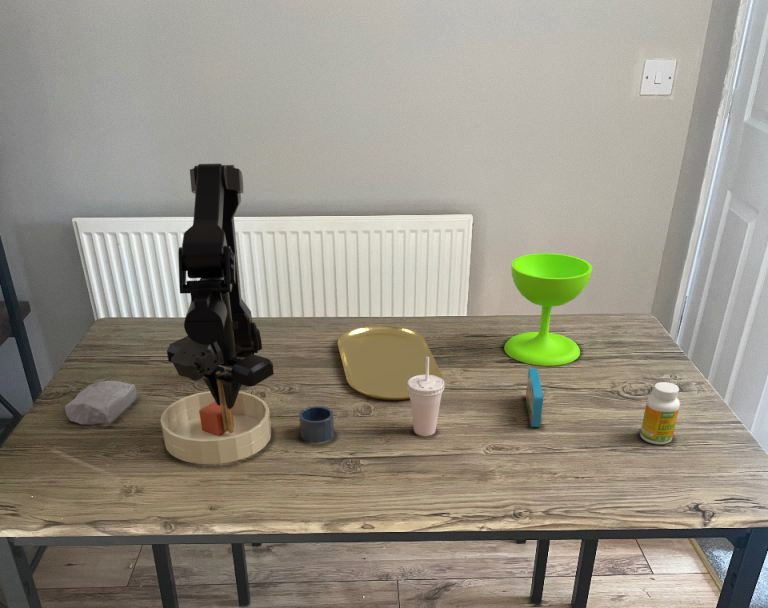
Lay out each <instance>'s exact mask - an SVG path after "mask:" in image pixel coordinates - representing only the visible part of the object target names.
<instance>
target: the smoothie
mask: <svg viewBox="0 0 768 608" xmlns="http://www.w3.org/2000/svg"><path fill="white" fill-rule="evenodd" d="M407 389H408V390H409V392H410V399H409V400H410V409H411V417H412V425H413V432H414V433H415V434H416V435H418V436H421V437H422V436H423V437H428V436H432V435H434V434H435V433H436V430H437V424H438V417H439V412H440V407H441V401H442V396H443V392H444V390H445V381H444V379H442V378H439V377H437V376H433V375H429V357H426V373H425V375H417V376H414V377H412V378H410V379H409V380H408V386H407Z"/></svg>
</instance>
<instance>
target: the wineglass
mask: <svg viewBox="0 0 768 608" xmlns="http://www.w3.org/2000/svg"><path fill="white" fill-rule="evenodd" d="M592 273H593V265H592V264H591V263H590V262H589V261H587V260H585V259H583V258H580V257H577V256H573V255H569V254H562V253H551V252H542V253H541V252H539V253H538V252H537V253H530V254H525V255H521V256H518V257H516V258H514V259H513V260H512V261H511V277H512V280H513V283H514V287H516V289H517V291H518V292H519V293H520V295H521V296H522V297H523V298H525V299H526V300H527V301H529V302H530V303H531V304H533V305H537V306H540V307H541V314H540V316H541V317H540V323H539V331H527V332H521V333H519V334H516V335H513V336H512V337H510V338H509V339H507V341H506V342H505V344H504V347H503V350H504V352H505V354H506V355H508V356H509V357H510V358H511V359H514V360H515V361H517V362H521V363H524V364H529V365H534V366H544V367H548V366H549V367H551V366H561V365H562V366H563V365H567V364H570V363H572V362H574V361H576V360H577V359H579V357H580V355H581V351H580V350H581V349H580V347H579V346H578V344H577V343H576V342H575V341H574V340H573V339H571V338H569V337H568V336H565V335H562V334H558V333H554V332H549V331H550V323H551V315H552V308H553V307H560V306H563V305H565V304H568V303H569V302H572V301H574V300H575V299H576V298H577V297H579V295H580V294H581V293H582V292H583V291H584V290H585V288H586V286H587V285H588V283H589V281H590V280H591V276H592Z"/></svg>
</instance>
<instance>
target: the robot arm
mask: <svg viewBox="0 0 768 608" xmlns="http://www.w3.org/2000/svg"><path fill="white" fill-rule="evenodd" d="M189 178H190V190H191V193H192V194H194V195H195V197H194V208H193V221H192V225H191V226H190V227H189V228H188V229H186V231H184V233H183V236H182V242H181V246H179V247H178V252H177V253H178V255H177V256H178V257H177V259H178V282H179V284H178V285H179V286H178V287H179V294H183V295H184V294H190V304H189V306H188V309H187V312H186V315H185V318H184V321H183V328H184V332H185V333H186V335H187V336H184V337H182V338H180V339H178V340H176V341H174V342H172V343H169V345H168V347H167V350H166V355H167V359H168V360H167V362H169V363H172V364H173V366H174V368H175V370H176V372H177V374H178V376H180V377H184V378H187V379H190V380H192V381H195V382H197V381H200V380H203V381H204V383H205V385H206V386H207V388H208V391H210V392H211V394H212V396H213V398H214V399H215V401H216V403H217V405H219V406H220V400H219V393H218V386H217V380H218V381H220V382H221V383H222V384H223V390H224V395H225V401H226V405H227V408H228V409H231V408H232V407H233V406H234V404H235V401H236V398H237V396H238V393H239V391H240V390H241V388H242V386H246V387H249V388H250V387H254V386H256V385H258V384H260V383H261V382H263V381H265V380H267V379H268V378H269V377H272V376H273V375H274V364H273V361H272V360H271V359H269V358H267V357H263V356H260V355H256V354H258V353H259V351H261V350H262V349H263V343H262V336H261V332H260V329H259V328H258V327H257V324H256V322H253V316H252V311H251V309H250V308H249V307H248V305H247V303H246V302H245V301H244V300H243V297H242V288H241V278H240V267H239V266H240V265H239V258H238V248H237V246H238V245H237V236H236V227H235V226H236V225H235V216H236V214H237V211H238V209H239V207H240V204H241V203H242V195H241V194H243V193H244V178H243V173H242V171H241V170H240V168H237V167H236V166H235V164H221V163H198V165H194V166H193V168H191V169H189ZM187 278H188V279H197V280H187ZM198 279H199V280H198ZM218 371H220V372H221V373H224V374H222V375H221V376H219V377H217V378H215V376H214V375H215V374H216V372H218Z"/></svg>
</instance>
